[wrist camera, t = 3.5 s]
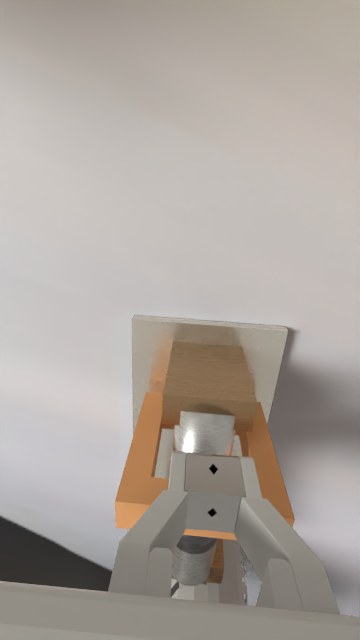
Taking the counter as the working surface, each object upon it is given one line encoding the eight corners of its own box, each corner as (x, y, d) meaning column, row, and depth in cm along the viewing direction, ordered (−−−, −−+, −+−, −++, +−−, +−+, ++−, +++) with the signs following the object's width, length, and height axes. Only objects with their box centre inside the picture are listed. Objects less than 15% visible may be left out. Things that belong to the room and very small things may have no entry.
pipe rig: (285, 326, 21) (329, 395, 14) (246, 502, 29) (262, 607, 21) (134, 314, 21) (100, 375, 14) (135, 491, 29) (113, 590, 22)
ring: (260, 401, 22) (294, 519, 14) (256, 422, 22) (286, 545, 15) (145, 391, 22) (115, 501, 14) (145, 412, 23) (116, 527, 15)
